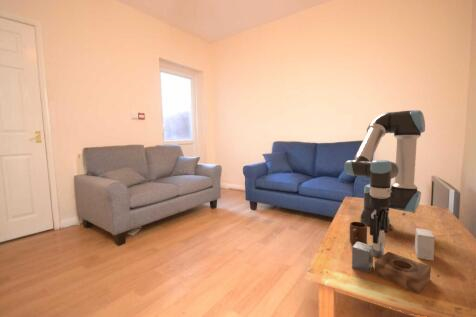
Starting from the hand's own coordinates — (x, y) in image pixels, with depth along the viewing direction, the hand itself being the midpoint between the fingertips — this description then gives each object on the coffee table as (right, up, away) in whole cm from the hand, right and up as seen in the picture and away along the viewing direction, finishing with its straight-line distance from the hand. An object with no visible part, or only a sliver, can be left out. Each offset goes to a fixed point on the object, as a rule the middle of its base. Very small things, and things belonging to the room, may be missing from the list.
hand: (378, 247), depth 101 cm
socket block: (0, -5, -14) cm, 15 cm away
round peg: (0, -4, 0) cm, 4 cm away
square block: (-11, -5, -8) cm, 14 cm away
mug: (-4, -3, +11) cm, 12 cm away
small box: (+19, -3, -1) cm, 20 cm away
